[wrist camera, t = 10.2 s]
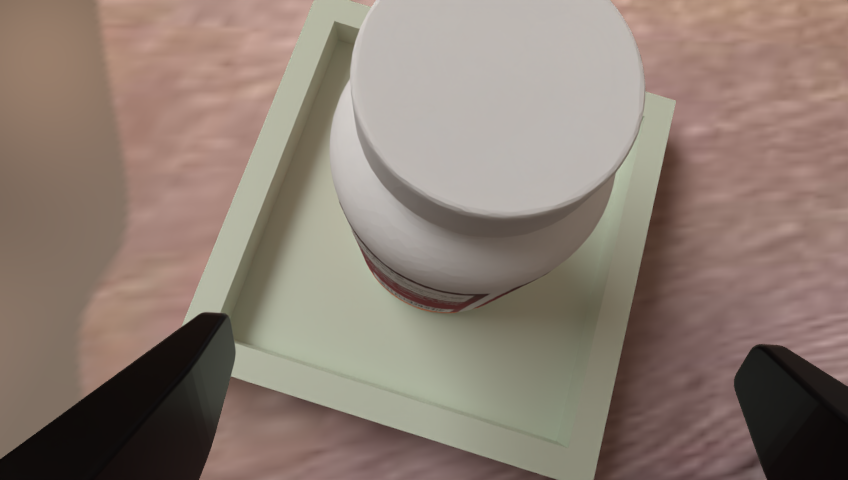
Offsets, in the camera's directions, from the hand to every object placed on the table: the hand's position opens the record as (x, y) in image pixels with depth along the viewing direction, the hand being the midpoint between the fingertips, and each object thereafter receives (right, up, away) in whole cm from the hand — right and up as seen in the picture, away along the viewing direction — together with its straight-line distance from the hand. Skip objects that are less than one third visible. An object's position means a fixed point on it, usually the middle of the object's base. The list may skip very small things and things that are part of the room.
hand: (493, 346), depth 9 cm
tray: (-1, +2, +11) cm, 11 cm away
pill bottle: (-1, +2, +10) cm, 10 cm away
